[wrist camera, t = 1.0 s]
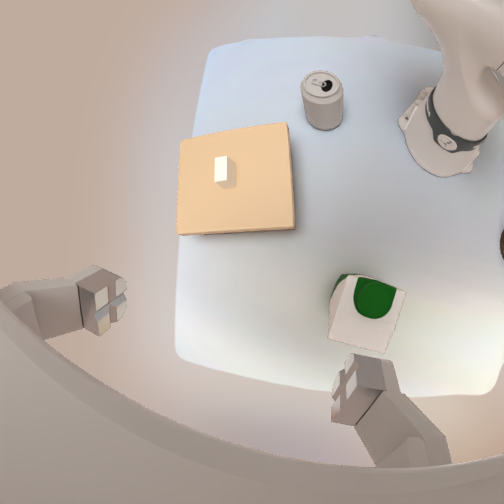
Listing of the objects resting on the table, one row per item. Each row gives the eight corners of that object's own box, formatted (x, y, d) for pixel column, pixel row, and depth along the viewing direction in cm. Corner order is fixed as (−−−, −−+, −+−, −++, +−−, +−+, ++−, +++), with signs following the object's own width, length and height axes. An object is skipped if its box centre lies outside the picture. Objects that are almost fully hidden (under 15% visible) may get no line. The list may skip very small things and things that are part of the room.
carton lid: (187, 145, 49) (169, 131, 43) (288, 128, 44) (282, 109, 37) (183, 235, 48) (163, 231, 42) (295, 228, 42) (289, 221, 36)
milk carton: (382, 281, 44) (417, 290, 25) (367, 328, 45) (389, 366, 26) (338, 267, 47) (345, 268, 28) (323, 315, 47) (319, 347, 28)
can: (336, 136, 48) (336, 104, 37) (301, 125, 50) (292, 92, 39) (346, 108, 48) (348, 73, 36) (313, 98, 50) (307, 63, 38)
